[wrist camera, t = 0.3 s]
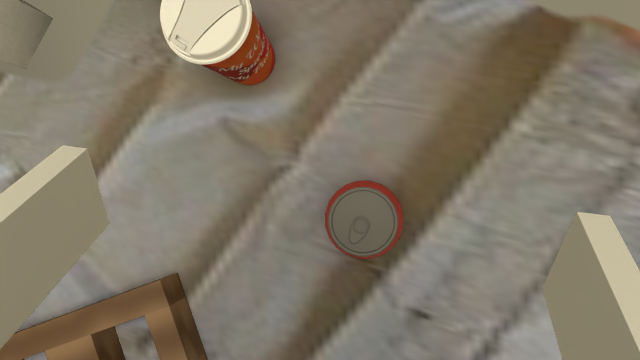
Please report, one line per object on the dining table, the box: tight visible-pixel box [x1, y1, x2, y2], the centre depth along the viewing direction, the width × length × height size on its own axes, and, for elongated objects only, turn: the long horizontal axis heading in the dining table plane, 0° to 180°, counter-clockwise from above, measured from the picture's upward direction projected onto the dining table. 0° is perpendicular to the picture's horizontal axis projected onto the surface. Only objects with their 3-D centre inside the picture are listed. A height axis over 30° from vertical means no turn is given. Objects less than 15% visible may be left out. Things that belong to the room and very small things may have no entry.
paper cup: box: [160, 0, 275, 85], centre depth 43 cm, size 8×8×14 cm
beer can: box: [325, 181, 403, 259], centre depth 42 cm, size 7×7×12 cm
